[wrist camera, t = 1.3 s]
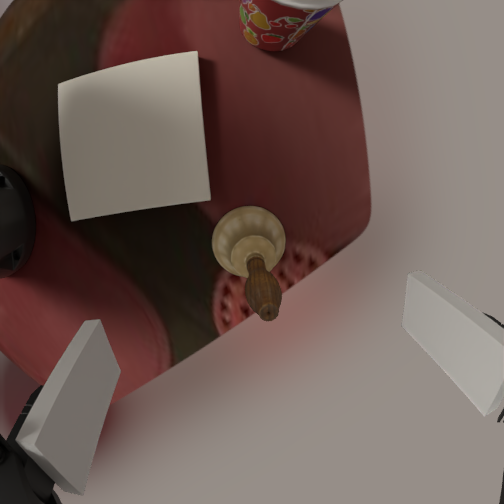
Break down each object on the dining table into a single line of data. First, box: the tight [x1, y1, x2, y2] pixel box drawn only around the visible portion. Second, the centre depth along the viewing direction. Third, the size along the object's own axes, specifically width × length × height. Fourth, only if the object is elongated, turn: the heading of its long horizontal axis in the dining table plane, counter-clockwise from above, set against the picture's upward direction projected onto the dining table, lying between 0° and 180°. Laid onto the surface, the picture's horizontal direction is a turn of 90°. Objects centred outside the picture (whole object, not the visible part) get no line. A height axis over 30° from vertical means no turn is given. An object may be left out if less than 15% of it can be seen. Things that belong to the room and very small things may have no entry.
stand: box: [58, 51, 211, 221], centre depth 28 cm, size 16×16×2 cm
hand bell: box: [212, 206, 286, 321], centre depth 27 cm, size 8×8×16 cm
